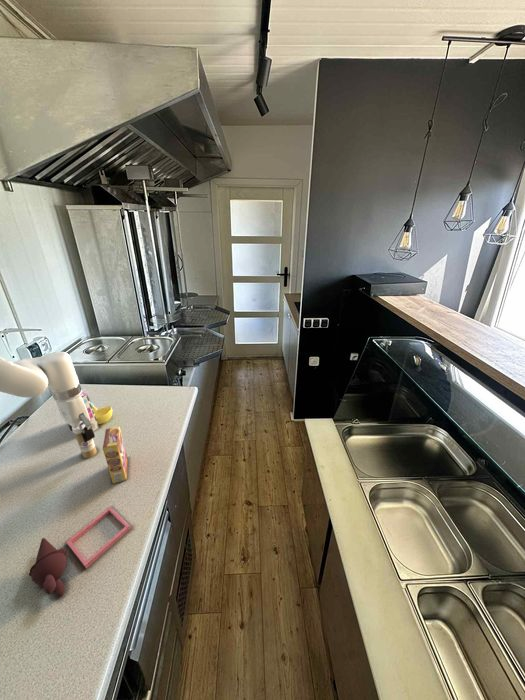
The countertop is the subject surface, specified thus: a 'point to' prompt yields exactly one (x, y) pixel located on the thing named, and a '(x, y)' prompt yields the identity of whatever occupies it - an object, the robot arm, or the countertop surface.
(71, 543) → the pink rectangular frame
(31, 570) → the icecream
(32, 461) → the countertop surface
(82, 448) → the sprinkles bottle
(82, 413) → the robot arm
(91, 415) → the candy bar box
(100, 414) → the ladle
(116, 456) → the candy box
